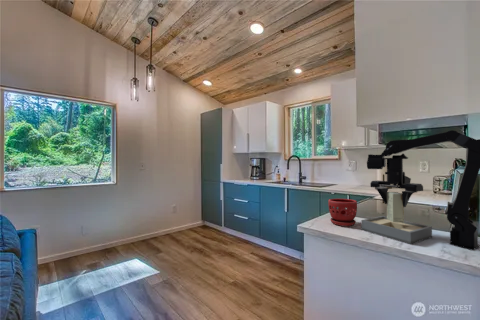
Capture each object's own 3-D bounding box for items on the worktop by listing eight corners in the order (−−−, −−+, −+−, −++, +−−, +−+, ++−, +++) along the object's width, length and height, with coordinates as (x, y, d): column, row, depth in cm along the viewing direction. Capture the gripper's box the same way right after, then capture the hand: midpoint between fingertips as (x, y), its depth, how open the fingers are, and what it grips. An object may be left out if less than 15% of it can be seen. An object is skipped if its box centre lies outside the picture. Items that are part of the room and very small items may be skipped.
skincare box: (404, 223, 95) (404, 194, 95) (392, 222, 96) (393, 193, 96) (397, 218, 101) (397, 191, 101) (386, 218, 102) (386, 191, 102)
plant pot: (363, 225, 111) (362, 200, 111) (344, 229, 105) (344, 203, 105) (340, 218, 123) (340, 196, 123) (322, 222, 117) (322, 199, 117)
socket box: (432, 237, 93) (432, 226, 93) (410, 244, 86) (410, 232, 86) (382, 224, 111) (382, 215, 111) (361, 229, 104) (361, 220, 104)
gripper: (430, 169, 94) (430, 207, 94) (384, 168, 110) (384, 200, 110) (415, 170, 89) (415, 210, 89) (369, 169, 105) (369, 202, 105)
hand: (395, 205), depth 98 cm, fingers closed on skincare box, 7 cm apart
